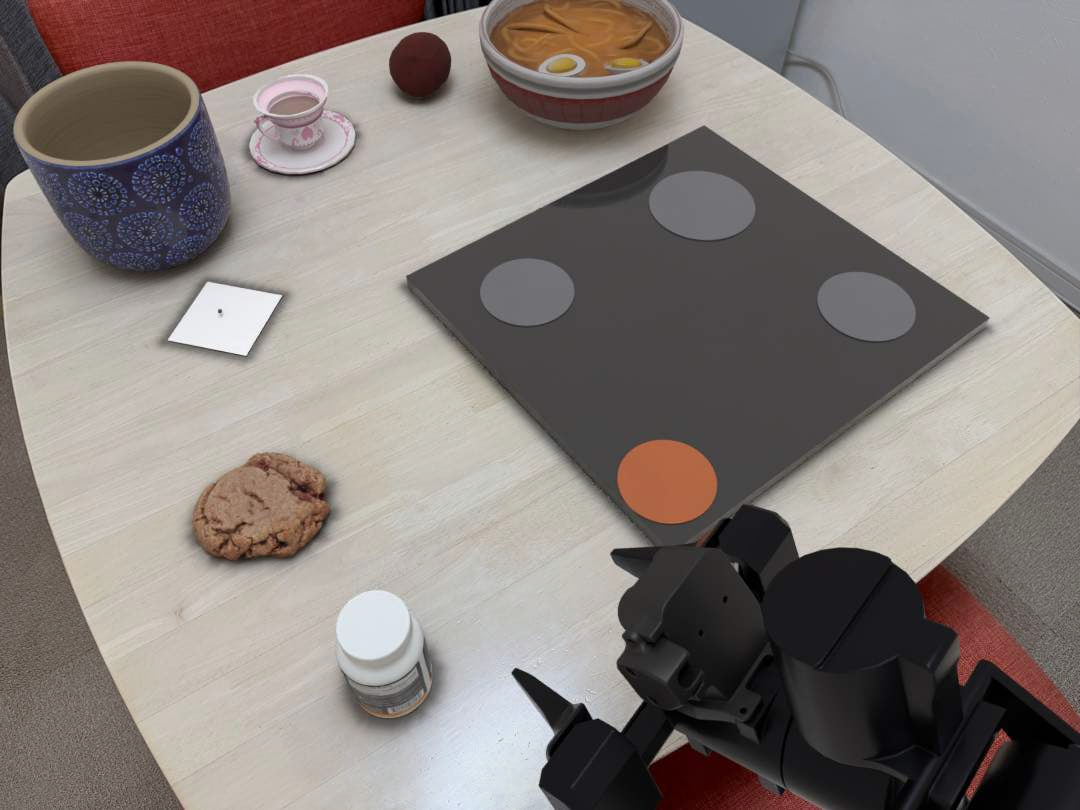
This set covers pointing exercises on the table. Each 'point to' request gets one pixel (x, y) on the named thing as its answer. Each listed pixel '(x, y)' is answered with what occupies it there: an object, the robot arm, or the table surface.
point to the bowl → (580, 56)
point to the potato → (420, 64)
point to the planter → (128, 163)
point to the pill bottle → (383, 654)
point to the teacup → (298, 126)
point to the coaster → (225, 318)
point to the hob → (692, 328)
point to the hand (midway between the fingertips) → (566, 612)
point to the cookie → (261, 508)
